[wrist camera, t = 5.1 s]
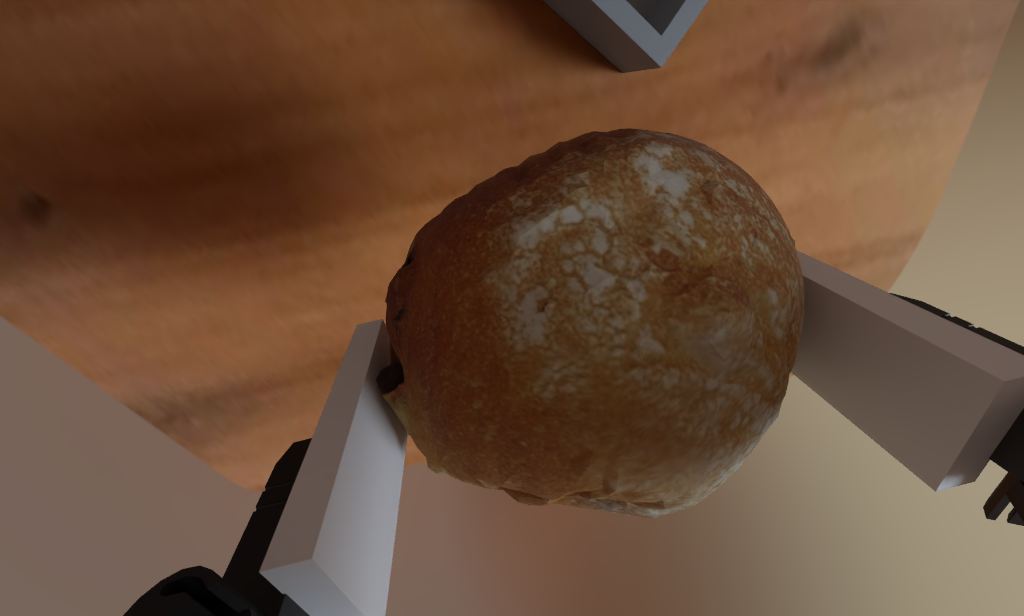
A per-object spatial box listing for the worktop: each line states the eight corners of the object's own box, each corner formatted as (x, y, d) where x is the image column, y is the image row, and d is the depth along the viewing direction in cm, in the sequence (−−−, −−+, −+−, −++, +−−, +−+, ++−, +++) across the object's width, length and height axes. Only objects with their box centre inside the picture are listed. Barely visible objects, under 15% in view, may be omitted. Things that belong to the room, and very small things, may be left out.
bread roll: (622, 342, 18) (827, 451, 11) (420, 475, 14) (567, 751, 7) (609, 103, 13) (962, 71, 6) (280, 202, 9) (383, 371, 2)
